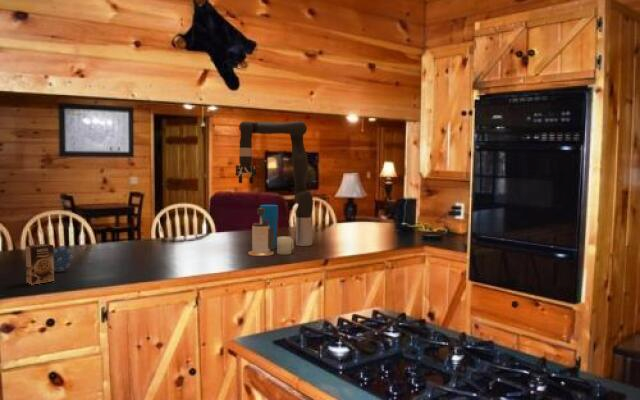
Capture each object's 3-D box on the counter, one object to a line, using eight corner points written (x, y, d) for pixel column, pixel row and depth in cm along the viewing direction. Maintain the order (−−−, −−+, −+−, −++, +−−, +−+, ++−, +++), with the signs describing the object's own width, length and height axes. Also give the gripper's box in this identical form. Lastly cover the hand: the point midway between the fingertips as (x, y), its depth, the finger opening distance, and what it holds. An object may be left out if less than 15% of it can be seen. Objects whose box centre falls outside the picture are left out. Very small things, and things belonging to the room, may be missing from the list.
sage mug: (288, 251, 309) (288, 235, 308) (296, 253, 302) (296, 237, 302) (274, 252, 304) (274, 236, 303) (281, 255, 297) (281, 238, 296)
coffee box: (32, 286, 223) (30, 247, 222) (26, 283, 227) (24, 245, 226) (54, 282, 230) (53, 244, 228) (48, 279, 234) (47, 243, 233)
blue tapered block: (274, 249, 316) (275, 206, 314) (257, 248, 318) (257, 205, 316) (279, 246, 326) (280, 204, 324) (262, 245, 328) (263, 204, 326)
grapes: (72, 269, 256) (71, 244, 255) (74, 272, 250) (73, 246, 249) (44, 271, 250) (44, 246, 249) (45, 274, 244) (45, 248, 243)
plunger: (263, 246, 303) (263, 207, 302) (267, 247, 299) (267, 208, 297) (254, 246, 300) (254, 208, 299) (259, 248, 296) (259, 208, 294)
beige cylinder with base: (266, 250, 310) (266, 221, 308) (278, 254, 298) (278, 224, 297) (244, 252, 302) (244, 223, 301) (255, 257, 290) (255, 226, 289)
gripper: (259, 155, 315) (259, 183, 316) (241, 155, 323) (241, 182, 324) (250, 155, 308) (250, 184, 310) (232, 155, 317) (232, 183, 318)
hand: (245, 183), depth 317 cm, fingers open, 8 cm apart
